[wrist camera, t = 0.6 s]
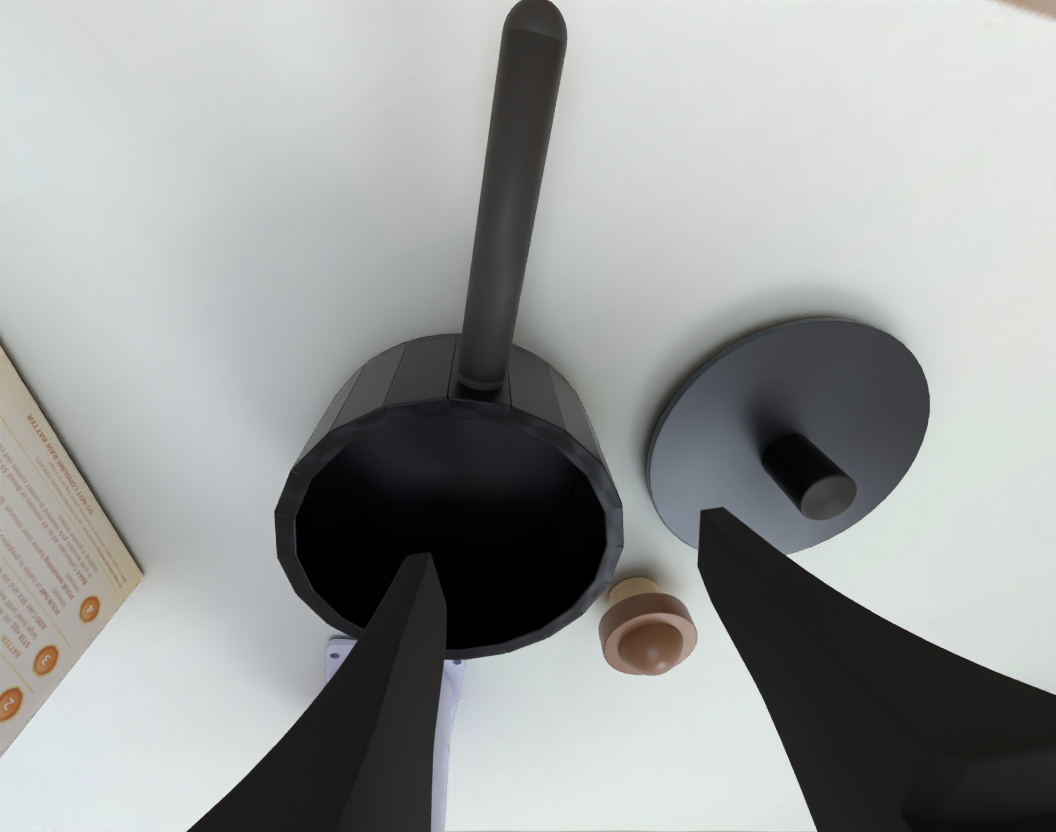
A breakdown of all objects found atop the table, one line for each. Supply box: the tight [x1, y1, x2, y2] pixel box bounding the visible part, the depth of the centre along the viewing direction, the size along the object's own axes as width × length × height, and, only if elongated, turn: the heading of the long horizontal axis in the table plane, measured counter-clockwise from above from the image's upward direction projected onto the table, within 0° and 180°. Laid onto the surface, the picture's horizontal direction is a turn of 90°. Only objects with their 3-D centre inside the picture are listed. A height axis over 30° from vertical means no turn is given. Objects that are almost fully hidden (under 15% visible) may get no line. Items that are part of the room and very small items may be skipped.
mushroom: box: [599, 577, 697, 675], centre depth 26 cm, size 5×5×5 cm
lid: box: [647, 318, 930, 555], centre depth 22 cm, size 13×13×4 cm
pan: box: [274, 334, 624, 661], centre depth 20 cm, size 12×12×6 cm
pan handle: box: [457, 0, 567, 391], centre depth 14 cm, size 11×2×2 cm, turn 169°
